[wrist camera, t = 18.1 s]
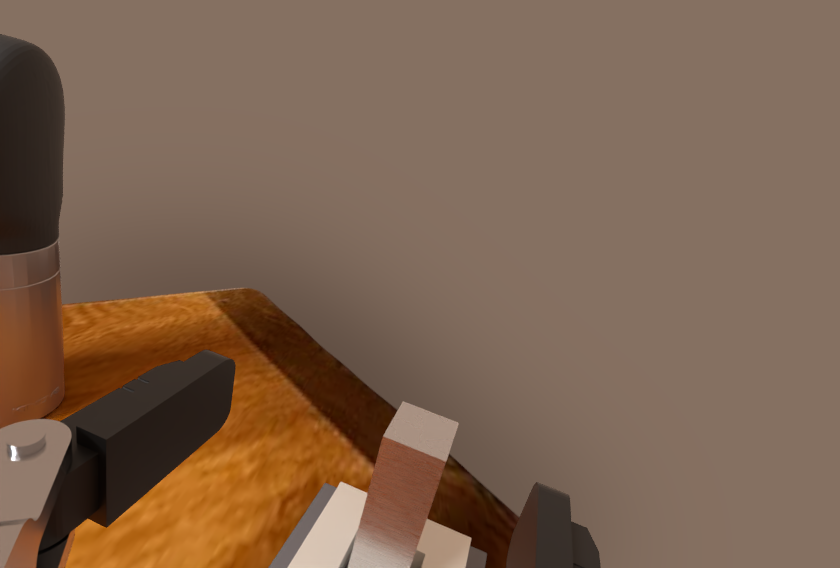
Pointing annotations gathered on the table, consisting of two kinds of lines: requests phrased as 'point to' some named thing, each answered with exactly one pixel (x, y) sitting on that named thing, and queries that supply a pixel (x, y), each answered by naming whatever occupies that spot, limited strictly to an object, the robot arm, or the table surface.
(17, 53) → the robot arm
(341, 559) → the socket block
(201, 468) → the table surface
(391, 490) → the steel peg
